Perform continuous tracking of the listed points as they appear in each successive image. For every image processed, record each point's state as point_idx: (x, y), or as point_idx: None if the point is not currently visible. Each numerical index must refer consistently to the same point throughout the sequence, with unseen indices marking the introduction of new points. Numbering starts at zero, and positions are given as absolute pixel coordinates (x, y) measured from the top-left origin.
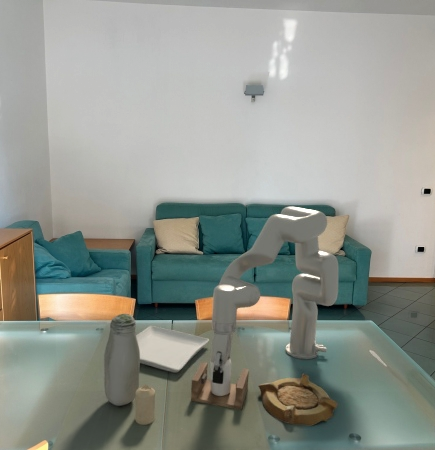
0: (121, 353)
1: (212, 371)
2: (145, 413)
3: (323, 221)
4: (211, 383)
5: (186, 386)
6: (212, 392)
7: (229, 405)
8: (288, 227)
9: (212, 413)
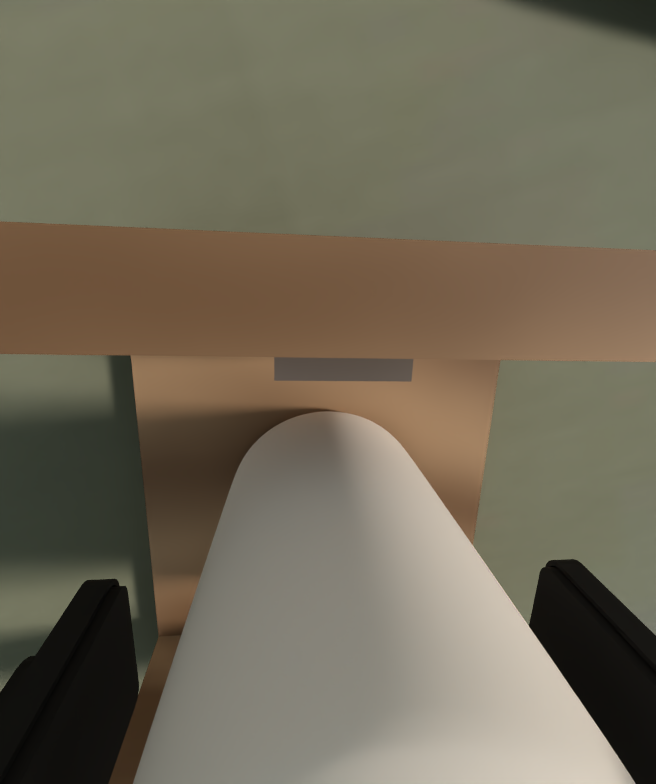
0: None
1: (198, 627)
2: None
3: None
4: (256, 472)
5: (370, 131)
6: (252, 447)
7: (158, 592)
8: None
9: (24, 484)
